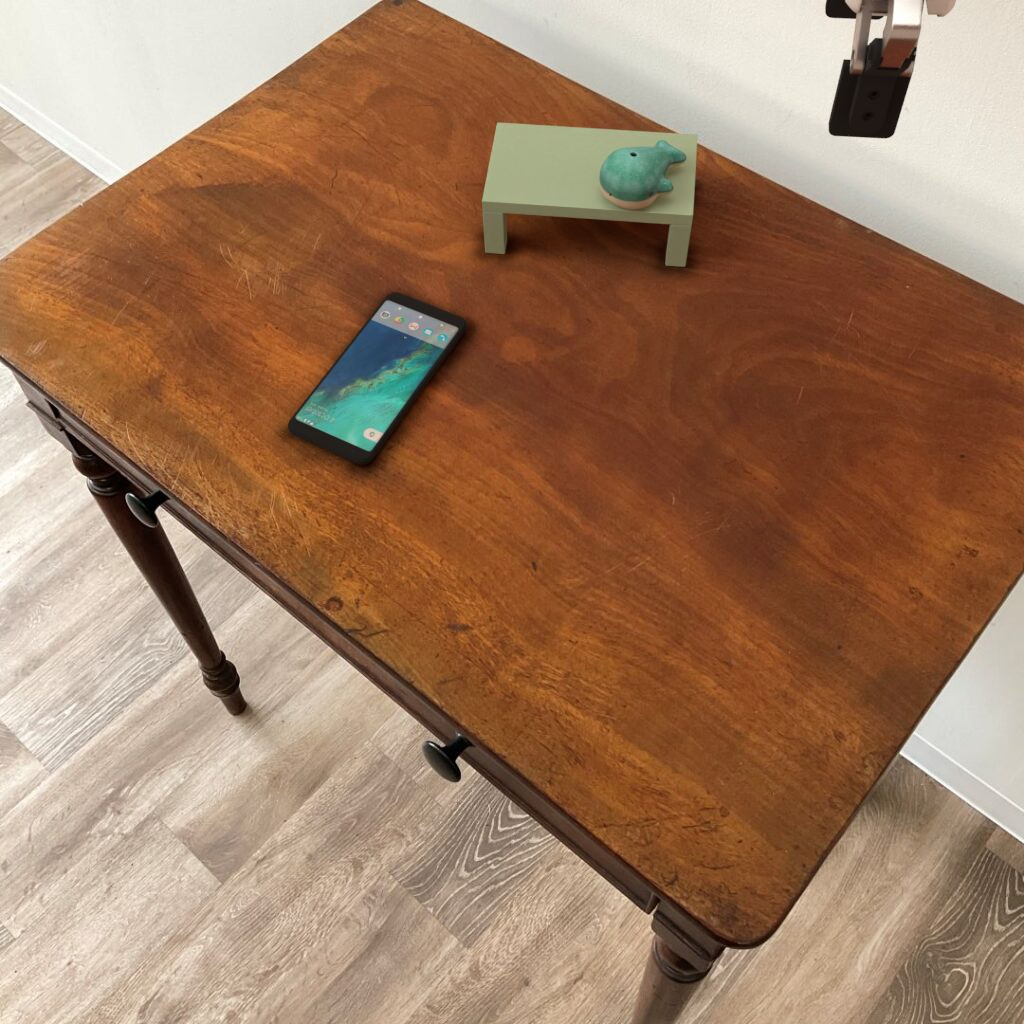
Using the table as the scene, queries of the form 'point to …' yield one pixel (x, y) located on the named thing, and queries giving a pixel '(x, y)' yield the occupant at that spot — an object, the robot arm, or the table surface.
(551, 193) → the miniature table
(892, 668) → the table surface
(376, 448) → the smartphone
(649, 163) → the whale figurine
